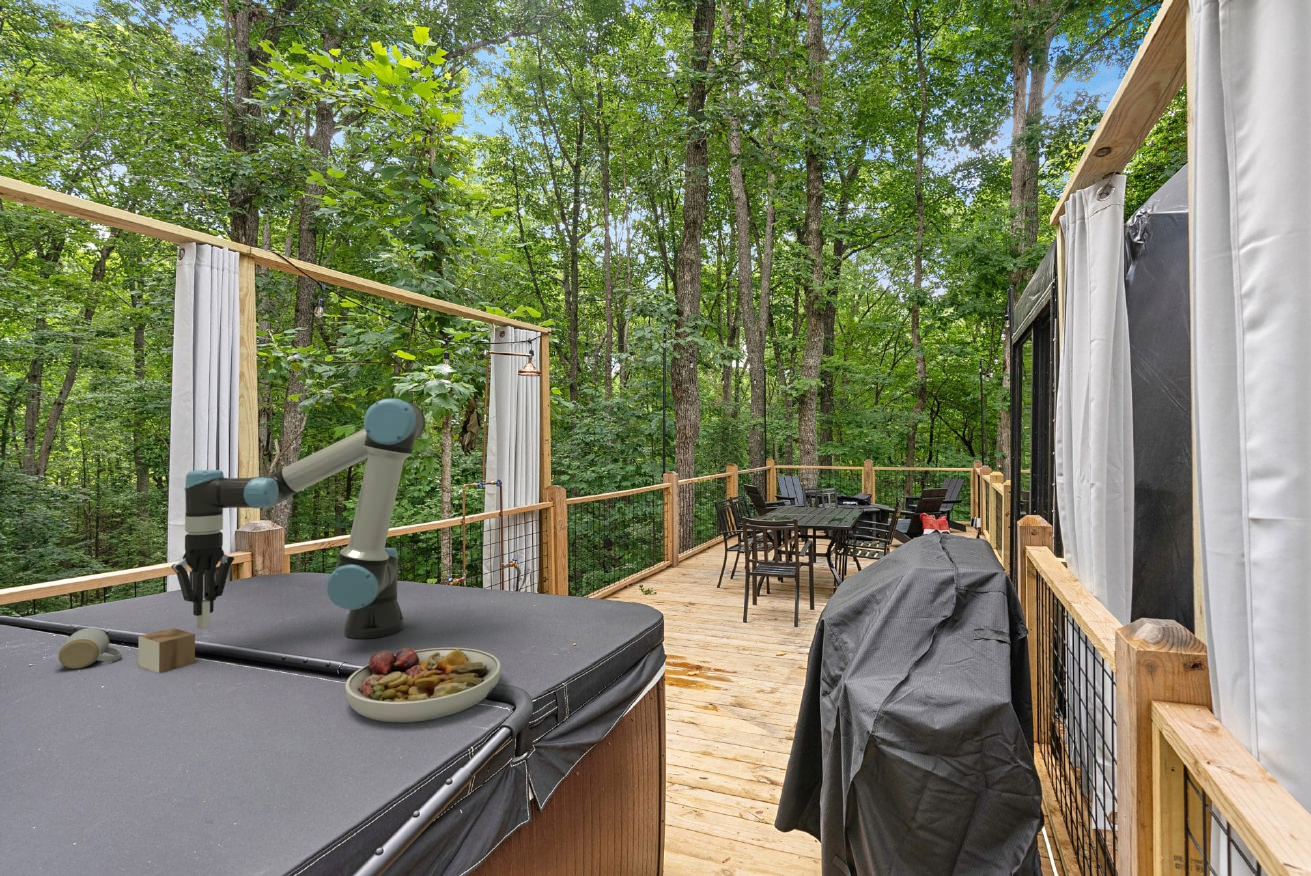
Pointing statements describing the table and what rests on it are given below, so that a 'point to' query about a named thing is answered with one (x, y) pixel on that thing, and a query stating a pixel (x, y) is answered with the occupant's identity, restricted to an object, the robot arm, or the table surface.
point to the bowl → (421, 683)
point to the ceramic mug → (87, 649)
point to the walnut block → (166, 650)
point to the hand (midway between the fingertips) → (203, 627)
